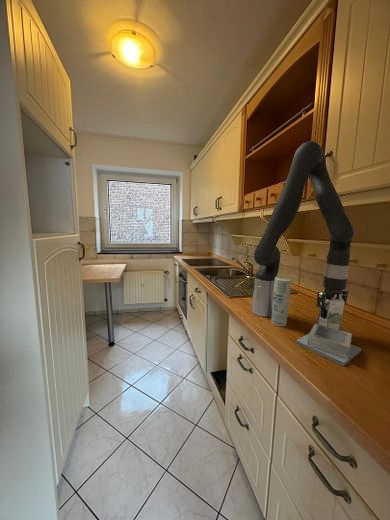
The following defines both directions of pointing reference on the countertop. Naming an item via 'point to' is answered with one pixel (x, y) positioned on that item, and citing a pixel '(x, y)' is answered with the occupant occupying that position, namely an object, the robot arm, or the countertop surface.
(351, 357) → the board
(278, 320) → the spray can
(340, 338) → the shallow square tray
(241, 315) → the countertop surface
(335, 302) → the syrup box
